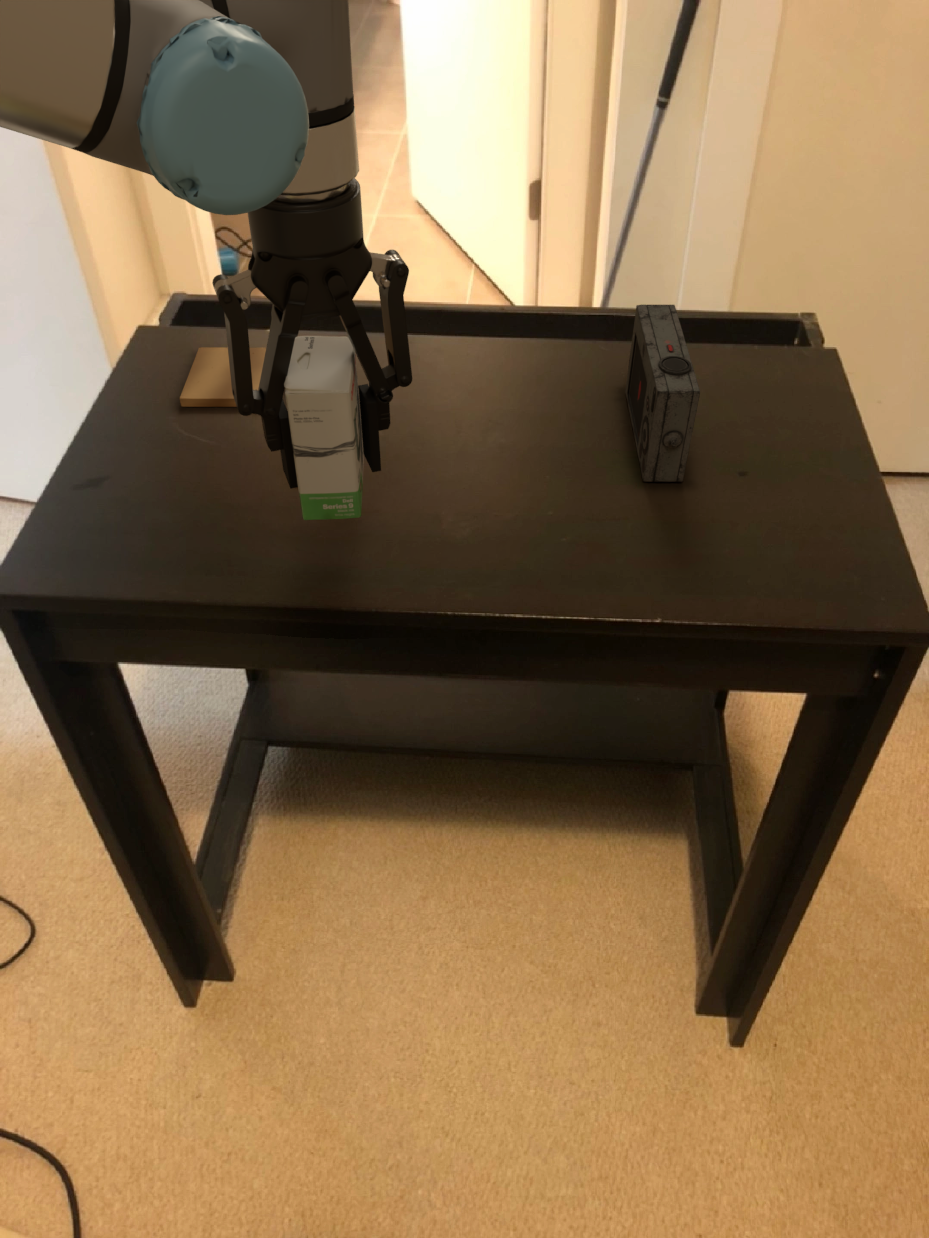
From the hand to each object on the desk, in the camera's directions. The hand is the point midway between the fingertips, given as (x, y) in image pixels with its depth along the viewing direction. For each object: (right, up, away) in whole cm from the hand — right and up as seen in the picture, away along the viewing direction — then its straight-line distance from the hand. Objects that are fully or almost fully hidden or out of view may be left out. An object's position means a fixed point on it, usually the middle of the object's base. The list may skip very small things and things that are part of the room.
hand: (332, 469), depth 80 cm
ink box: (0, -1, +2) cm, 2 cm away
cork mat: (-13, +13, +23) cm, 29 cm away
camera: (+29, +5, +16) cm, 33 cm away
